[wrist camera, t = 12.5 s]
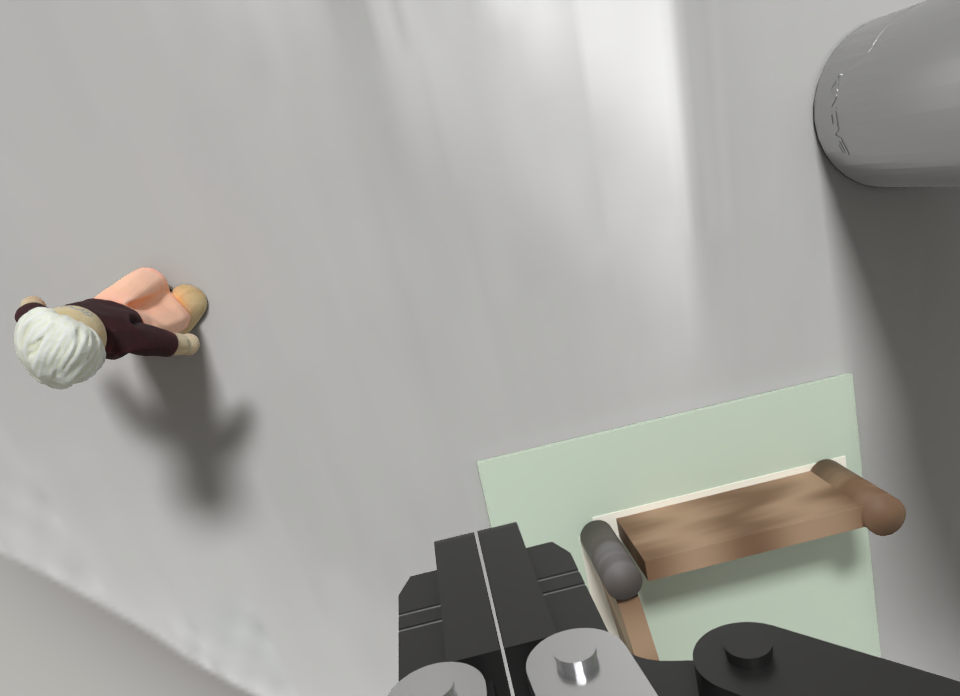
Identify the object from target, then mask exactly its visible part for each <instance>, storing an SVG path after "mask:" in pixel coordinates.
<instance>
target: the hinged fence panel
mask: <svg viewBox="0 0 960 696" xmlns="http://www.w3.org/2000/svg"><path fill="white" fill-rule="evenodd" d="M580 540H581V543H582V545H583V547H584V549H585V550H586V552H587V554H588V556H589V558H590V560H591V562H592V564H593V566H594V568H595V569H596V571H597V573H598V575H599V577H600V579H601V582H602V585H603V588H604V591H605V594H606V597H607V600H608V603H609V606H610V609H611V612H612V615H613V618H614V621H615V624H616V627H617V630H618V633H619V636H620V639H621V640H622V642H623V643H624V644H625V645H626V647H627V648H628V650H629V652H630V653H631V654H633V655H635V656H638V657H641V658H646V659H650V660H658V661H659V657H658V654H657V651H656V648H655V645H654V642H653V639H652V635H651V632H650V629H649V626H648V623H647V620H646V617H645V614H644V610H643V607H642V604H641V601H640V598H639V595H638V594H637V593H638V592H639V591H640V589H641V587H642V583H643V579H642V575H641V573H640V571H639V570H638V568H637V567H636V565H635V563H634V562H633V560H632V559H631V557H630V556H629V554H628V553H627V551H626V549H625V548H624V546H623V545H622V543H621V542H620V540H619V538H618V537H617V535H616V534H615V532H614V531H613V529H612V528H611V526H610V525H609V524H608V523H607V522H605V521H602V520H594V521H591V522H589V523H587V524H586V525H585V526H584V527H583V529H582V531H581V534H580Z"/></svg>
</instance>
